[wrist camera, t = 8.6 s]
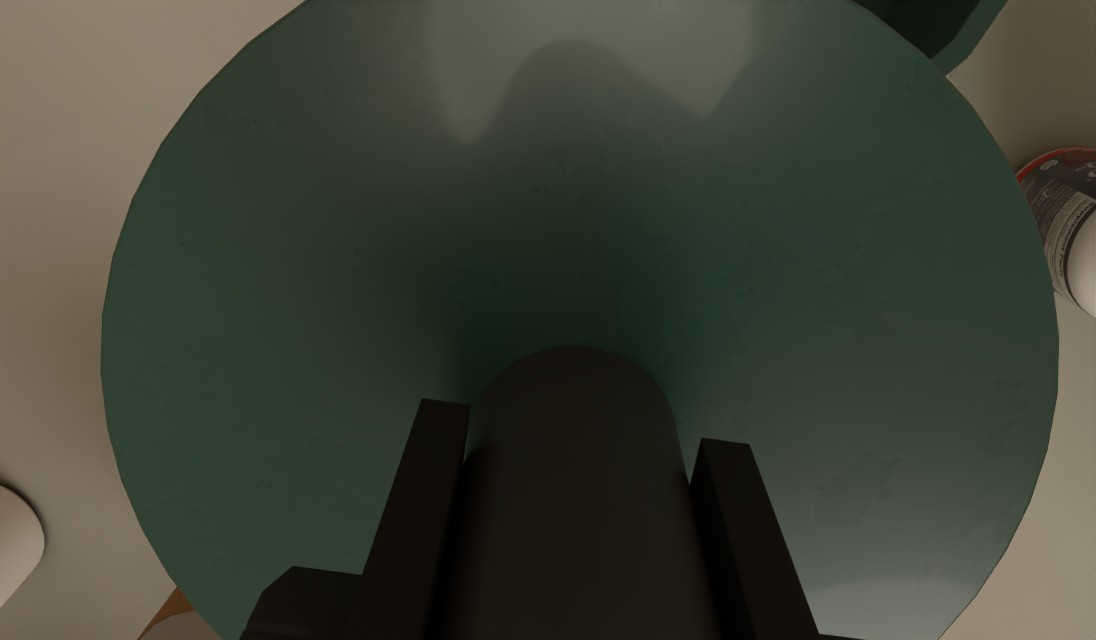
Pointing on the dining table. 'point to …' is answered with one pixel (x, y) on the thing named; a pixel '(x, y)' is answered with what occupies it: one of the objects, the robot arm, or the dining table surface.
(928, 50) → the pot
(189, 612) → the coffee cup
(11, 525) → the can
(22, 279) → the dining table surface
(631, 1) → the pot lid
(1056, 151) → the pill bottle
